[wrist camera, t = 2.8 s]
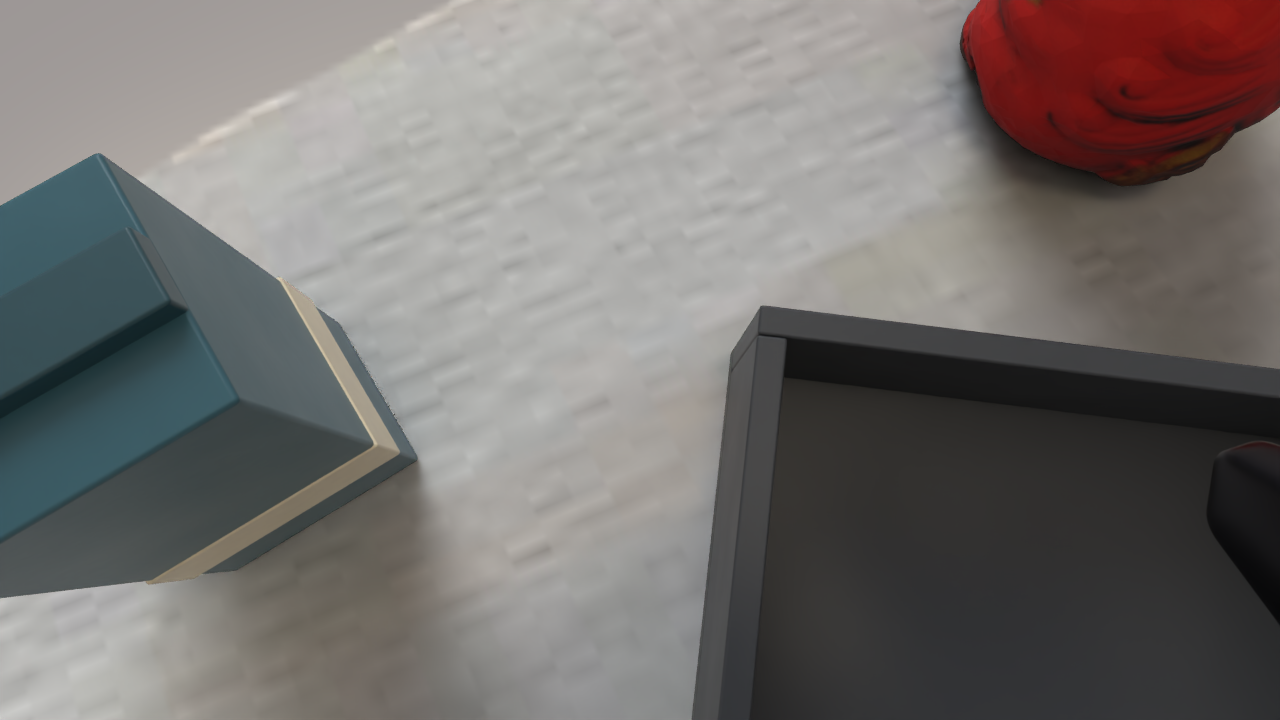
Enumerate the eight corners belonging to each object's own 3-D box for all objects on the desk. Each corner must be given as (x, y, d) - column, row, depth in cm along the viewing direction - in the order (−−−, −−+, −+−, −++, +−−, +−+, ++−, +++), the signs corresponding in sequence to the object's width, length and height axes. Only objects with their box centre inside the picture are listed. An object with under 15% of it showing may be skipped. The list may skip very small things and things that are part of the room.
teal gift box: (422, 459, 23) (230, 397, 12) (233, 574, 23) (-159, 625, 11) (339, 318, 24) (79, 129, 12) (153, 427, 23) (-299, 333, 12)
